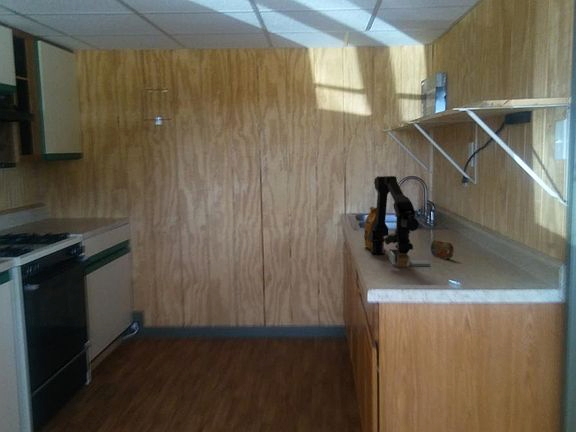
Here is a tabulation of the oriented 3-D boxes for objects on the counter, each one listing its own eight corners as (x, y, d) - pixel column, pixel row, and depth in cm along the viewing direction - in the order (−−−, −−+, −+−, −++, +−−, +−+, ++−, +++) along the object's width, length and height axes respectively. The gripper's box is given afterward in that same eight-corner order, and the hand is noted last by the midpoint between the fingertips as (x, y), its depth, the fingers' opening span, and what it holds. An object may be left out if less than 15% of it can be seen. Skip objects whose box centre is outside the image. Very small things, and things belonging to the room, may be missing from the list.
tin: (430, 255, 277) (430, 238, 276) (435, 254, 278) (435, 238, 277) (448, 260, 263) (449, 243, 262) (454, 260, 264) (455, 242, 263)
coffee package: (366, 250, 289) (367, 208, 286) (362, 246, 301) (363, 206, 299) (385, 250, 289) (386, 208, 287) (381, 246, 302) (381, 206, 299)
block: (396, 261, 252) (397, 253, 250) (405, 261, 252) (406, 253, 249) (397, 267, 249) (398, 258, 246) (406, 267, 249) (408, 258, 246)
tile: (409, 262, 259) (409, 260, 259) (426, 262, 259) (426, 260, 259) (412, 266, 251) (412, 263, 251) (430, 266, 251) (430, 263, 251)
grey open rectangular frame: (389, 259, 266) (389, 249, 266) (405, 259, 266) (405, 249, 266) (393, 265, 254) (393, 254, 253) (410, 265, 253) (410, 254, 253)
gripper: (382, 225, 260) (381, 257, 262) (387, 230, 242) (387, 266, 244) (406, 225, 260) (405, 257, 262) (413, 230, 241) (412, 266, 243)
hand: (402, 261), depth 253 cm, fingers closed
